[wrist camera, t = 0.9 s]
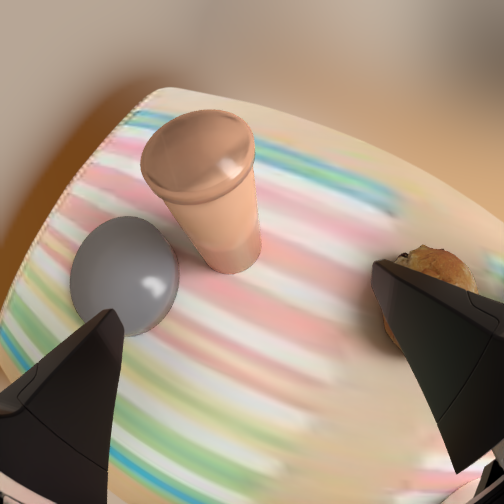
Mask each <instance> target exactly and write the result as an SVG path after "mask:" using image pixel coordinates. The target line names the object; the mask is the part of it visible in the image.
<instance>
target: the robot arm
mask: <svg viewBox="0 0 504 504" xmlns="http://www.w3.org/2000/svg"><path fill="white" fill-rule="evenodd" d="M371 285H372V289H373V291H374V293H375V296H376V298H377V300H378V302H379V305H380V307H381V309H382V312H383V314H384V317H385V319H386V321H387V323H388V325H389V327H390V329H391V331H392V333H393V334H394V336H395V338H396V340H397V342H398V344H399V346H400V347H401V349H402V351H403V353H404V355H405V357H406V359H407V361H408V363H409V365H410V367H411V369H412V371H413V373H414V375H415V377H416V379H417V381H418V383H419V385H420V387H421V389H422V392H423V394H424V396H425V398H426V400H427V402H428V405H429V407H430V409H431V411H432V414H433V416H434V418H435V421H436V423H437V426H438V428H439V431H440V433H441V436H442V438H443V441H444V443H445V446H446V448H447V451H448V454H449V456H450V459H451V462H452V465H453V467H454V470H455V472H456V474H458V473H460V472H461V471H463V470H465V469H466V468H468V467H469V466H470V465H472V464H473V463H475V462H476V461H478V460H479V459H480V458H482V457H483V456H484V455H486V454H487V453H488V452H490V451H491V450H492V451H493V453H494V455H495V457H496V458H495V459H494V460H493V461H492V462H490V463H489V464H488V465H487V466H485V467H484V470H483V473H482V476H481V479H480V481H479V484H478V487H477V489H476V492H475V494H474V497H473V499H471V500H470V501H468V502H467V503H466V504H504V304H503V303H500V302H497V301H494V300H492V299H489V298H486V297H483V296H481V295H478V294H476V293H473V292H471V291H468V290H467V291H466V290H465V289H463V288H460V287H458V286H455V285H453V284H450V283H448V282H445V281H442V280H440V279H437V278H435V277H432V276H429V275H427V274H424V273H421V272H419V271H416V270H413V269H410V268H408V267H405V266H402V265H399V264H397V263H394V262H391V261H388V260H385V259H382V260H378V261H375V262H374V263H373V266H372V280H371ZM124 334H125V330H124V326H123V324H122V322H121V320H120V318H119V316H118V314H117V313H116V311H115V310H114V309H112V308H110V309H104V310H102V311H101V312H99V313H98V314H97V315H95V316H94V317H93V318H92V319H90V320H89V321H88V322H87V323H85V324H84V325H83V326H81V327H80V328H79V329H78V330H76V331H75V332H74V333H73V334H71V335H70V336H69V337H68V338H67V339H65V340H64V341H63V342H62V343H60V344H59V345H58V346H57V347H56V348H54V349H53V350H52V351H51V352H50V353H48V354H47V355H46V356H45V357H44V358H42V359H41V360H40V361H39V363H36V364H35V365H34V366H33V367H32V368H31V369H29V370H28V371H27V372H26V373H25V374H23V375H22V376H21V377H20V378H18V379H17V380H16V381H15V382H13V383H12V384H11V385H10V386H8V387H7V388H6V389H4V390H3V391H2V392H1V393H0V504H107V483H108V472H107V471H108V462H109V450H110V439H111V430H112V422H113V414H114V407H115V400H116V394H117V388H118V382H119V376H120V371H121V363H122V352H123V342H124Z"/></svg>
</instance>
